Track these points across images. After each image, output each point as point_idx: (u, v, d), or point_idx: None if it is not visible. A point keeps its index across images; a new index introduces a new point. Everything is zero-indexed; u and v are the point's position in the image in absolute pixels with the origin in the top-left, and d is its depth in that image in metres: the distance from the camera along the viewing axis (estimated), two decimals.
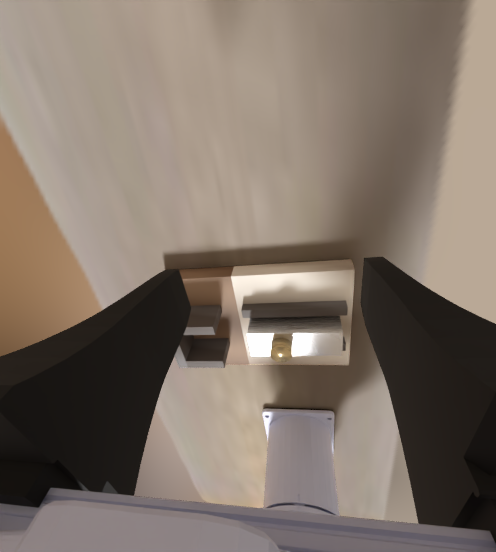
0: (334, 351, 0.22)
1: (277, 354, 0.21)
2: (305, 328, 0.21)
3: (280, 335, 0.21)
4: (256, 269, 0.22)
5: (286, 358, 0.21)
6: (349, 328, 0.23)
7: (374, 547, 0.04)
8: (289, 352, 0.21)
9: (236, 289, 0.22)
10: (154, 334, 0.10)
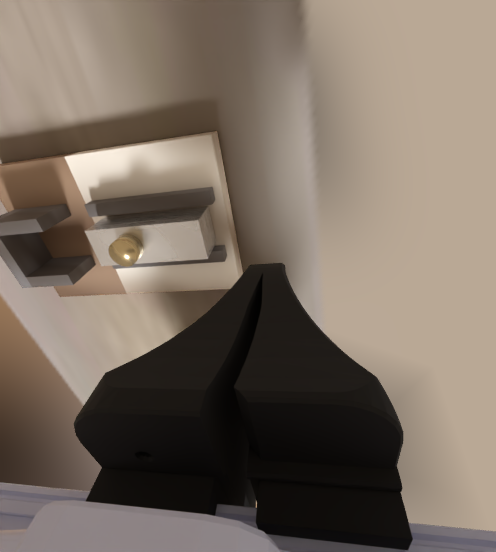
0: (196, 252, 0.17)
1: (117, 253, 0.16)
2: (156, 221, 0.16)
3: (124, 229, 0.16)
4: (100, 149, 0.17)
5: (130, 259, 0.16)
6: (227, 231, 0.18)
7: (374, 547, 0.04)
8: (131, 249, 0.16)
9: (77, 177, 0.17)
10: None
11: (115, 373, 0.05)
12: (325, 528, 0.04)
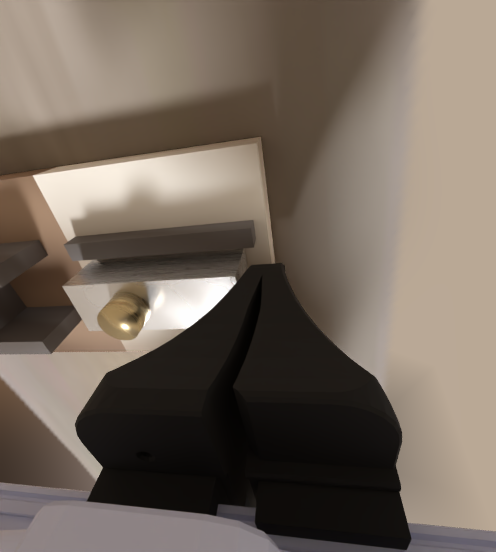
0: None
1: (111, 323, 0.11)
2: (169, 273, 0.11)
3: (121, 286, 0.11)
4: (86, 164, 0.12)
5: (130, 331, 0.11)
6: None
7: (374, 547, 0.04)
8: (131, 318, 0.10)
9: (53, 205, 0.12)
10: None
11: (116, 373, 0.05)
12: (324, 528, 0.04)
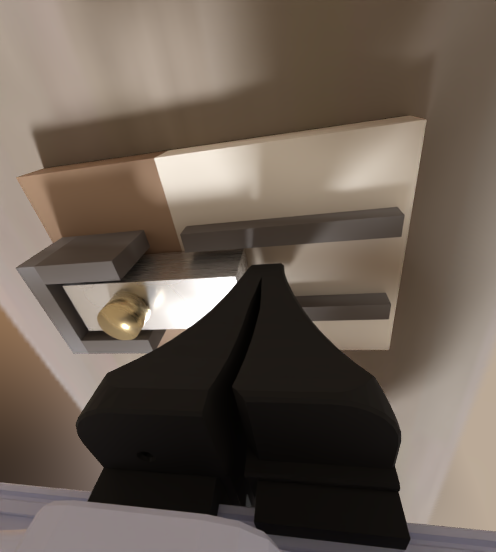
0: None
1: (111, 323, 0.11)
2: (169, 273, 0.11)
3: (121, 286, 0.11)
4: (209, 147, 0.11)
5: (130, 331, 0.11)
6: (397, 274, 0.12)
7: (374, 547, 0.04)
8: (131, 318, 0.10)
9: (169, 191, 0.11)
10: None
11: (117, 373, 0.05)
12: (323, 528, 0.04)
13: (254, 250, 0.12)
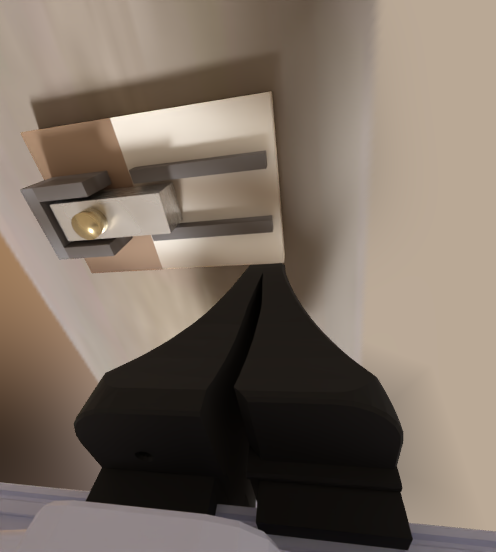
0: (159, 225, 0.17)
1: (80, 226, 0.16)
2: (119, 195, 0.17)
3: (87, 203, 0.17)
4: None
5: (93, 232, 0.16)
6: (276, 200, 0.17)
7: (374, 547, 0.04)
8: (93, 221, 0.16)
9: (121, 141, 0.17)
10: None
11: (115, 373, 0.05)
12: (325, 528, 0.04)
13: (181, 184, 0.18)
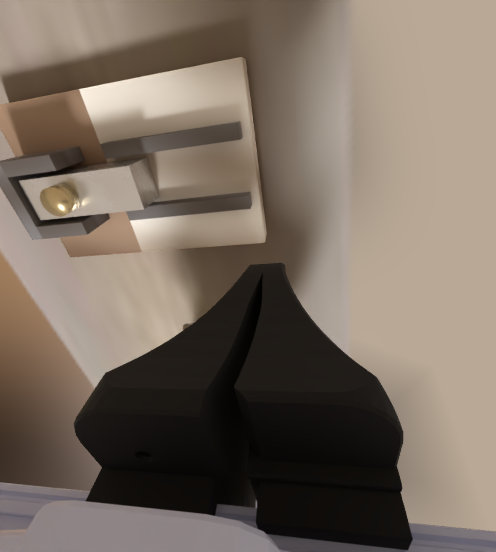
0: (132, 201, 0.16)
1: (49, 201, 0.16)
2: (90, 169, 0.16)
3: (57, 178, 0.16)
4: None
5: (63, 208, 0.16)
6: (254, 175, 0.17)
7: (374, 547, 0.04)
8: (61, 196, 0.15)
9: (92, 114, 0.16)
10: None
11: (115, 373, 0.05)
12: (325, 528, 0.04)
13: (156, 160, 0.17)
